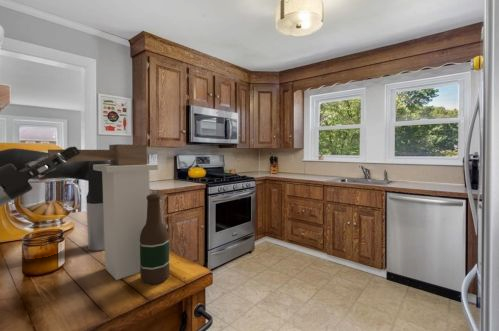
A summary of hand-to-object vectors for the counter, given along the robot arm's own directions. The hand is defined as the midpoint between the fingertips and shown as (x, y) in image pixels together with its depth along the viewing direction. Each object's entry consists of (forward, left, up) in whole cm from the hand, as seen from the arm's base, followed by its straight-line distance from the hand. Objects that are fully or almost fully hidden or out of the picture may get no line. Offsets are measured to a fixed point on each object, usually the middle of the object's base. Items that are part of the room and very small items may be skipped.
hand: (75, 149), depth 68 cm
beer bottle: (+12, +16, -37) cm, 42 cm away
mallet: (0, +6, -4) cm, 7 cm away
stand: (0, +13, -36) cm, 39 cm away
